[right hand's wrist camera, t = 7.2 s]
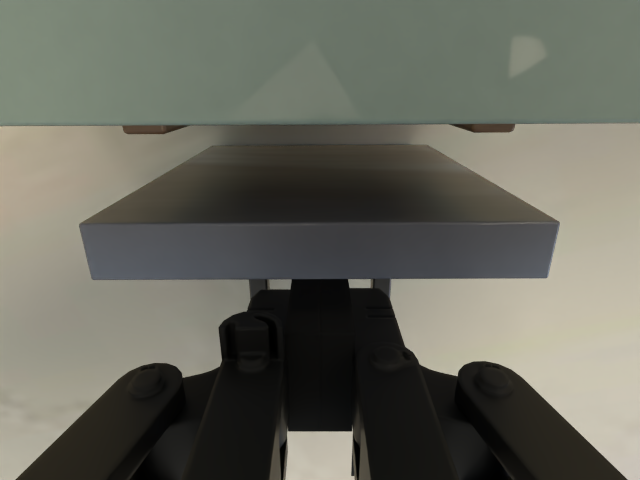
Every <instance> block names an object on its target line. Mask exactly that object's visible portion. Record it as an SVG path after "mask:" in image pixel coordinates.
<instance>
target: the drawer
mask: <svg viewBox="0 0 640 480" xmlns="http://www.w3.org/2000/svg"><path fill="white" fill-rule="evenodd" d="M449 125H452V126H456V127H459V128H462V129H465V130H468V131H471V132H474V133H481V132H511V131H513V130H514V127H515V124H449ZM187 126H190V125H132V126H123V130H124V132H125V133H127V134H165V133H168V132H171V131H174V130H178V129H181V128H184V127H187ZM559 225H560V223H559V221H557V220H555V219H554V218H552V217H550V216H549V215H547V214H545V213H543V212H542V211H540V210H538V209H536V208H535V207H533V206H531V205H530V204H528V203H526V202H524V201H523V200H521V199H519V198H518V197H516V196H514V195H512V194H511V193H509V192H507V191H506V190H504V189H502V188H500V187H499V186H497V185H495V184H494V183H492V182H490V181H488V180H487V179H485V178H483V177H482V176H480V175H478V174H476V173H475V172H473V171H471V170H469V169H468V168H466V167H464V166H463V165H461V164H459V163H457V162H456V161H454V160H452V159H451V158H449V157H447V156H445V155H444V154H442V153H440V152H439V151H437V150H435V149H433V148H432V147H430V146H428V145H296V146H211V147H210V148H208V149H206V150H204V151H203V152H201V153H199V154H198V155H196V156H194V157H193V158H191V159H189V160H187V161H186V162H184V163H182V164H181V165H179V166H177V167H175V168H174V169H172V170H170V171H169V172H167V173H165V174H164V175H162V176H160V177H158V178H157V179H155V180H153V181H152V182H150V183H148V184H147V185H145V186H143V187H141V188H140V189H138V190H136V191H135V192H133V193H131V194H129V195H128V196H126V197H124V198H123V199H121V200H119V201H118V202H116V203H114V204H112V205H111V206H109V207H107V208H106V209H104V210H102V211H100V212H99V213H97V214H95V215H94V216H92V217H90V218H89V219H87V220H85V221H83V222H82V223H80V224H79V227H80V231H81V236H82V240H83V244H84V248H85V252H86V257H87V261H88V265H89V269H90V274H91V278H92V279H93V280H191V279H249V286H250V299H251V298H252V297H253V296H254V295H255V294H256V293H257V292H259V291H260V290H270V286H269V279H371V288H380V289H381V290H382V291H383V292H384V293H385V294H386V295H387V296H389V298H390V290H391V279H464V278H547V277H548V274H549V269H550V265H551V261H552V256H553V252H554V247H555V243H556V239H557V234H558V230H559Z"/></svg>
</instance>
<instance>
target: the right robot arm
mask: <svg viewBox="0 0 640 480" xmlns="http://www.w3.org/2000/svg"><path fill="white" fill-rule="evenodd" d="M219 336H220V345H221V355H222V362H221V365H220V367H218V368H216V369H214V370H212V371H209V372H206V373H203V374H199V375H194V376H190V377H185V378H182V373H181V371H180V370H179V369H178V368H177V367H176V366H173V365H170V364H167V363H153V364H148V365H143V366H140V367H138V368H136V369H134V370H131V371H129V372H128V373H126V374H125V375H124V376H122V377H121V378H120V379H118V380H117V381H116V382H115V383H114V384H113V385H112V386H111V387H110V388H109V389H108V390H107V391H106V392H105V393H104V394H103V395H102V396H101V397H100V398H99V399H98V400H97V401H96V402H95V403H94V404H93V405H92V406H91V407H90V408H89V409H88V410H87V411H86V412H85V413H83V414H82V415H81V416H80V417H79V418H78V419H77V420H76V421H75V422H74V423H73V424H72V425H71V426H70V427H69V428H68V429H67V430H66V431H65V432H64V433H63V434H62V435H61V436H60V437H59V438H58V439H57V440H56V441H55V442H54V443H53V444H52V445H51V446H50V447H49V448H48V449H47V450H46V451H44V452H43V453H42V454H41V455H40V456H39V457H38V458H37V459H36V460H35V461H34V462H33V463H32V464H31V465H30V466H29V467H28V468H27V469H26V470H25V471H24V472H23V473H22V474H21V475H20V476H19V477H18V478H17V479H16V480H285V477H286V465H287V453H288V447H287V429H288V431H352V427H353V447H352V472H351V476H354V477H355V480H627V479H626V478H625V477H624V476H623V475H622V474H621V473H620V472H619V471H618V470H617V469H616V468H615V467H614V466H613V465H612V464H611V463H610V462H609V461H608V460H607V459H606V458H605V457H603V456H602V455H601V454H600V453H599V452H598V451H597V450H596V449H595V448H594V447H593V446H592V445H591V444H590V443H589V442H588V441H587V440H586V439H585V438H584V437H583V436H582V435H581V434H580V433H579V432H578V431H577V430H576V429H575V428H573V427H572V426H571V425H570V424H569V423H568V422H567V421H566V420H565V419H564V418H563V417H562V416H561V415H560V414H559V413H558V412H557V411H556V410H555V409H554V408H553V407H552V406H551V405H550V404H549V403H548V402H547V401H546V400H545V399H544V398H542V397H541V396H540V395H539V394H538V393H537V392H536V391H535V390H534V389H533V388H532V387H531V386H530V385H529V384H528V383H527V382H526V381H525V380H524V379H523V378H522V377H520V376H519V375H518V374H516V373H515V372H514V371H512V370H511V369H509V368H506V367H504V366H502V365H499V364H496V363H491V362H486V361H481V362H471V363H468V364H466V365H464V366H463V367H462V368H461V369H460V370H459V372H458V376H453V375H449V374H444V373H440V372H436V371H433V370H430V369H428V368H425V367H423V366H421V365H420V364H419V362H418V359H417V358H416V356H415V355H414V353H413V352H411V351H410V350H409V349H407V348H406V347H405V345H404V342H403V339H402V336H401V333H400V329H399V326H398V323H397V320H396V318H395V314H394V311H393V309H392V305H391V301H390V298H389V296H387V295H386V294H385V293H384V292H383V291H382V290H381V289H380V288H349V283H348V279H292V283H291V290H260V291H259V292H257V293H256V294H255V295H254V296H253V297H252V298H251V300H250V303H249V306H248V310H247V312H241V313H238V314H235V315H232V316H231V317H229V318H227V319H226V320H224V321H223V322H222V324H221V325H220V326H219Z"/></svg>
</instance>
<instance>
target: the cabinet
mask: <svg viewBox="0 0 640 480" xmlns="http://www.w3.org/2000/svg"><path fill="white" fill-rule="evenodd" d="M577 123H640V0H0V126H132V125H354V124H577Z"/></svg>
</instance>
